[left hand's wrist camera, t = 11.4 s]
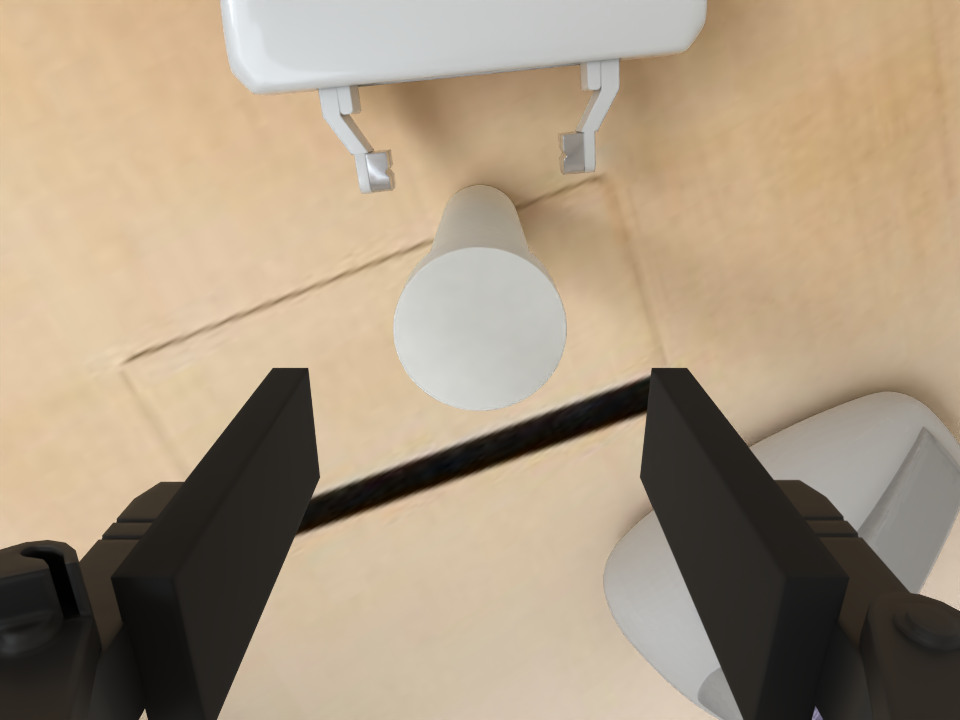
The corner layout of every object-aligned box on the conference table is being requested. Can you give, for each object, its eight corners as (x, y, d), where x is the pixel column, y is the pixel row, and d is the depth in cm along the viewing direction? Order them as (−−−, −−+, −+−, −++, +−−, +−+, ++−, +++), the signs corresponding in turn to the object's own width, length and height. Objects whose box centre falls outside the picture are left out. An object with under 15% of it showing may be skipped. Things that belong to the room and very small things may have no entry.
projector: (892, 645, 49) (1050, 853, 35) (591, 656, 49) (633, 866, 36) (958, 378, 41) (1197, 516, 27) (596, 394, 41) (653, 538, 28)
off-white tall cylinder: (426, 229, 38) (380, 337, 20) (474, 168, 36) (469, 228, 19) (485, 277, 39) (489, 418, 21) (534, 219, 37) (580, 319, 20)
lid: (368, 325, 22) (358, 344, 20) (468, 199, 20) (467, 209, 18) (490, 415, 23) (491, 441, 21) (593, 304, 21) (603, 321, 20)
